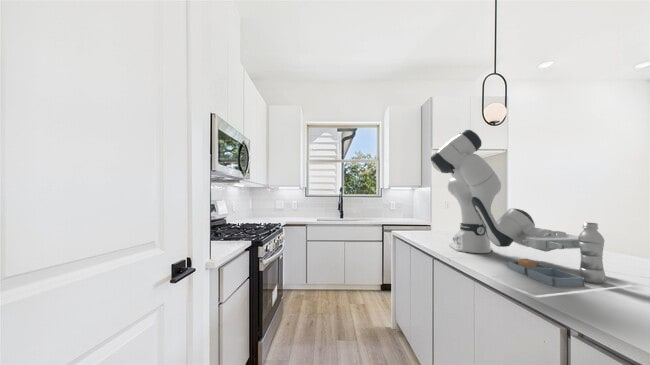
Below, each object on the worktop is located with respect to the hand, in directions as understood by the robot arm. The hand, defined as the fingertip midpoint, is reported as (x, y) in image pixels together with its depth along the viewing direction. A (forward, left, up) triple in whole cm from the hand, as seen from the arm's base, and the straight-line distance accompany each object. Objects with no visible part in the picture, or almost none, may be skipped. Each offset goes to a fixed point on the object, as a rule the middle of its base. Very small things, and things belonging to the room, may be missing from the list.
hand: (575, 246), depth 99 cm
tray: (+4, -12, -11) cm, 17 cm away
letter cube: (-8, -12, -10) cm, 17 cm away
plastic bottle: (+6, 0, -11) cm, 12 cm away
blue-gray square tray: (-8, -12, -11) cm, 18 cm away
